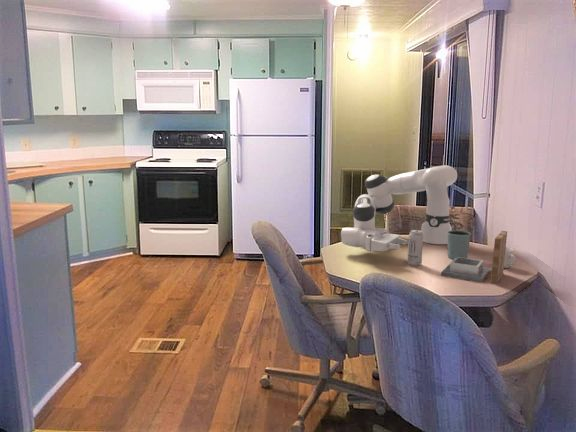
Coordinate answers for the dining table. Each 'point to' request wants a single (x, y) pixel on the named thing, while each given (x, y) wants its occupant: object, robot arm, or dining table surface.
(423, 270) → the dining table surface
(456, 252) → the green tapered pot
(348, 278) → the dining table surface
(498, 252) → the door panel
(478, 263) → the grey fixture base
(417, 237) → the energy drink can
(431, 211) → the robot arm
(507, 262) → the cup
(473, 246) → the dining table surface
